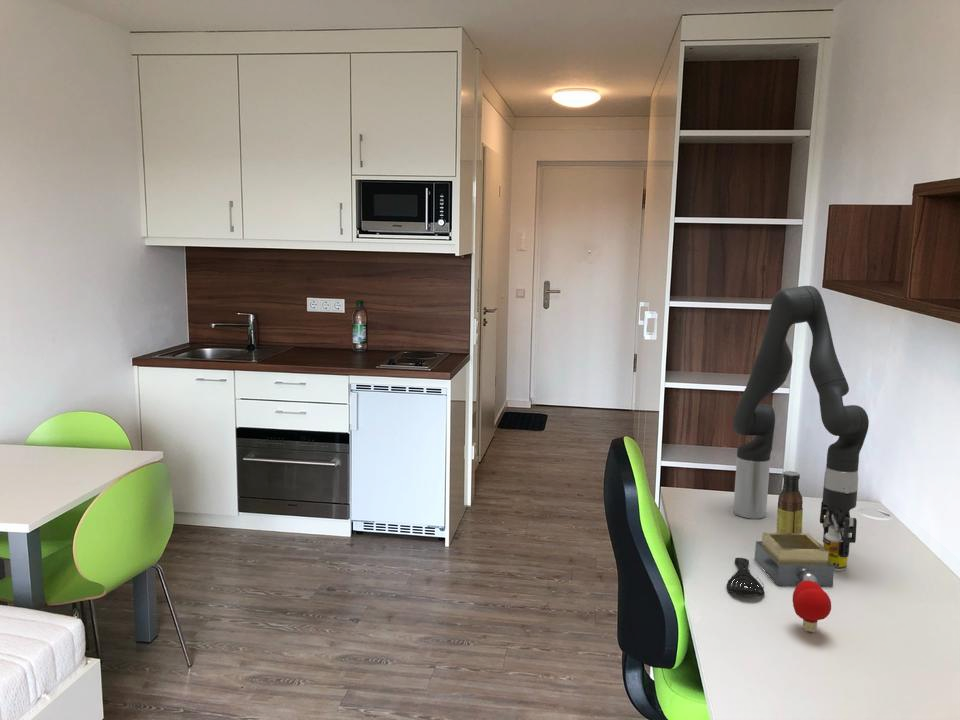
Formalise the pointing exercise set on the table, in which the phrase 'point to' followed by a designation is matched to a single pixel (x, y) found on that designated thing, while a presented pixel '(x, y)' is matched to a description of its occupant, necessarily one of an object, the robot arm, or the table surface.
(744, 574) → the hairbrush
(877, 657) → the table surface
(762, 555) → the drawer with knob
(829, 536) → the supplement bottle
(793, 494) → the sauce bottle
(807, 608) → the red toy tree
